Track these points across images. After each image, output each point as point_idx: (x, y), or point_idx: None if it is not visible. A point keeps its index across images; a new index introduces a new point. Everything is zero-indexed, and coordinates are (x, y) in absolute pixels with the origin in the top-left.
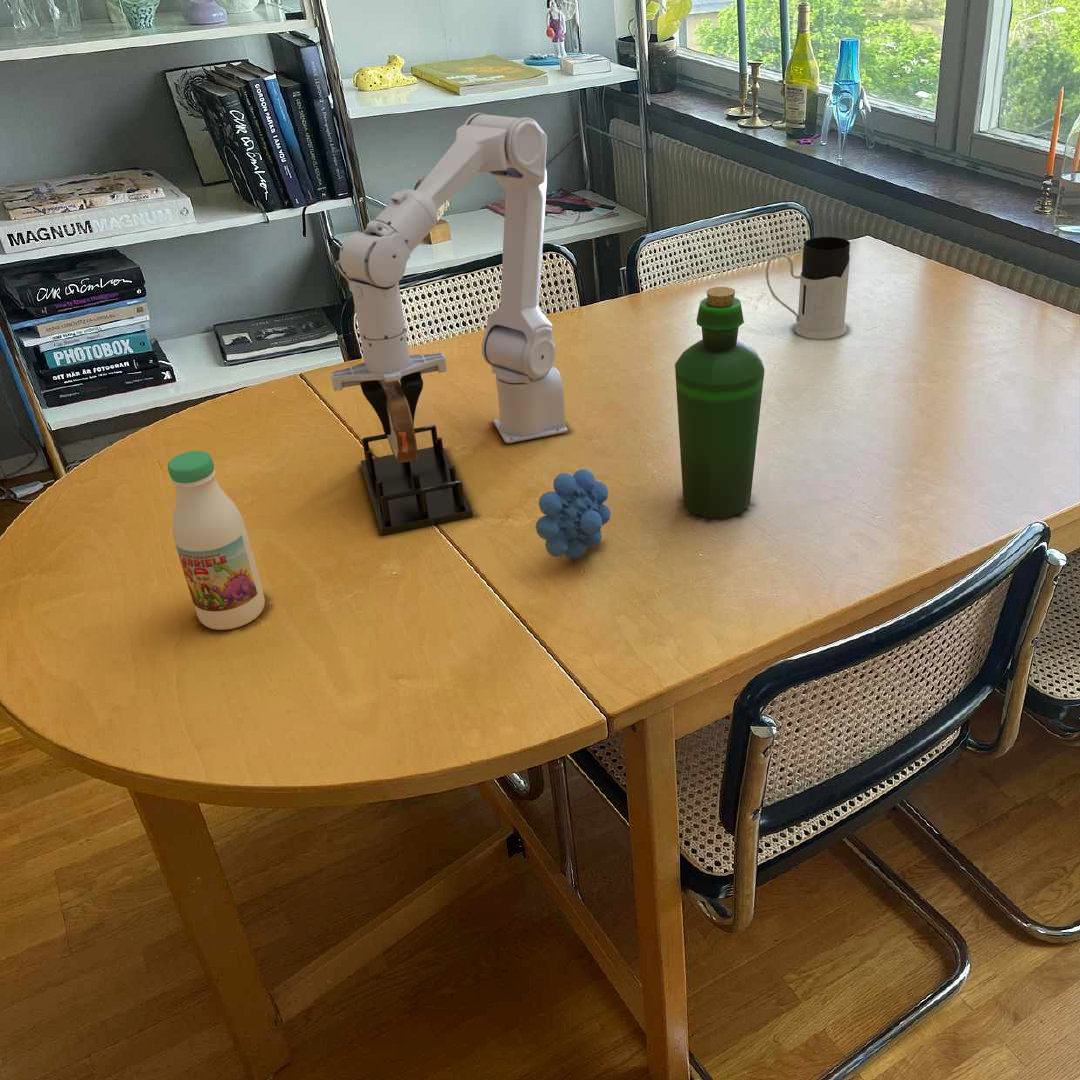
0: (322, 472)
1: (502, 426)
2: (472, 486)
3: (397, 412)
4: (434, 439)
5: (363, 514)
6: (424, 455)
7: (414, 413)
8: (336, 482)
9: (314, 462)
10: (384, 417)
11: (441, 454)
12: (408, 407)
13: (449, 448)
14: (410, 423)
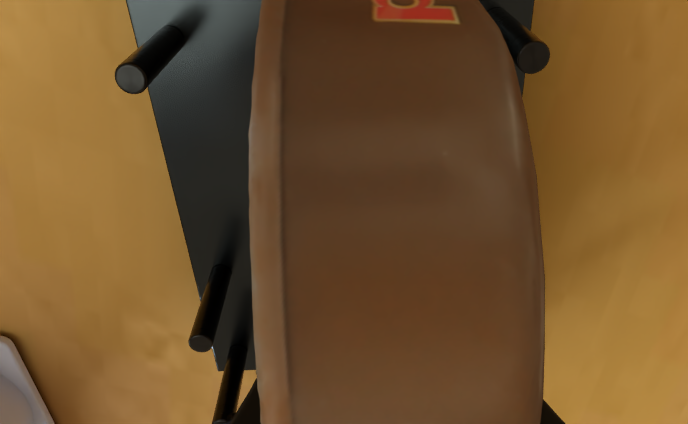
0: (604, 348)
1: (15, 409)
2: (114, 109)
3: (442, 288)
4: (232, 379)
5: (567, 37)
6: None
7: (249, 392)
8: (584, 284)
9: (606, 400)
10: None
11: (212, 290)
12: (266, 345)
13: (201, 362)
14: (287, 96)
